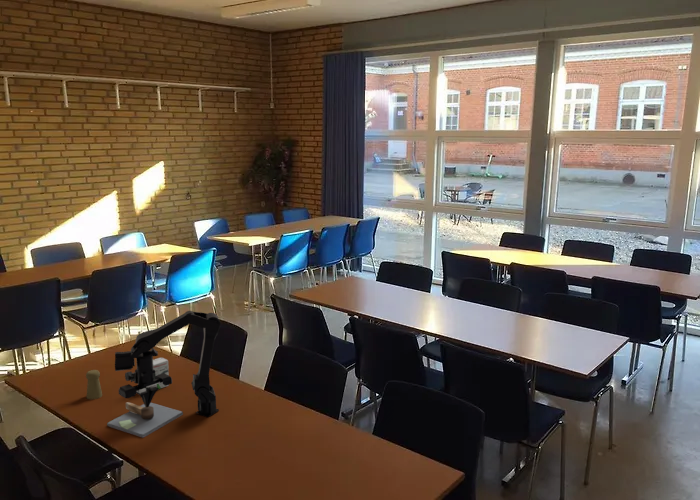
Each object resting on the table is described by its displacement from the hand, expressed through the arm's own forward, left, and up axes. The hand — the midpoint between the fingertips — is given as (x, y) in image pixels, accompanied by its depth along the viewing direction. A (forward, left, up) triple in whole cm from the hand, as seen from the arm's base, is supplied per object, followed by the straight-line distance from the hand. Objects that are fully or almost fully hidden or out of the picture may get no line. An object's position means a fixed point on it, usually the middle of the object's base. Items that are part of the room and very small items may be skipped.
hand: (147, 406), depth 214 cm
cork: (+35, -5, -6) cm, 36 cm away
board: (+1, 0, -6) cm, 6 cm away
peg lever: (+5, 0, -4) cm, 6 cm away
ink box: (+19, -24, -6) cm, 31 cm away
